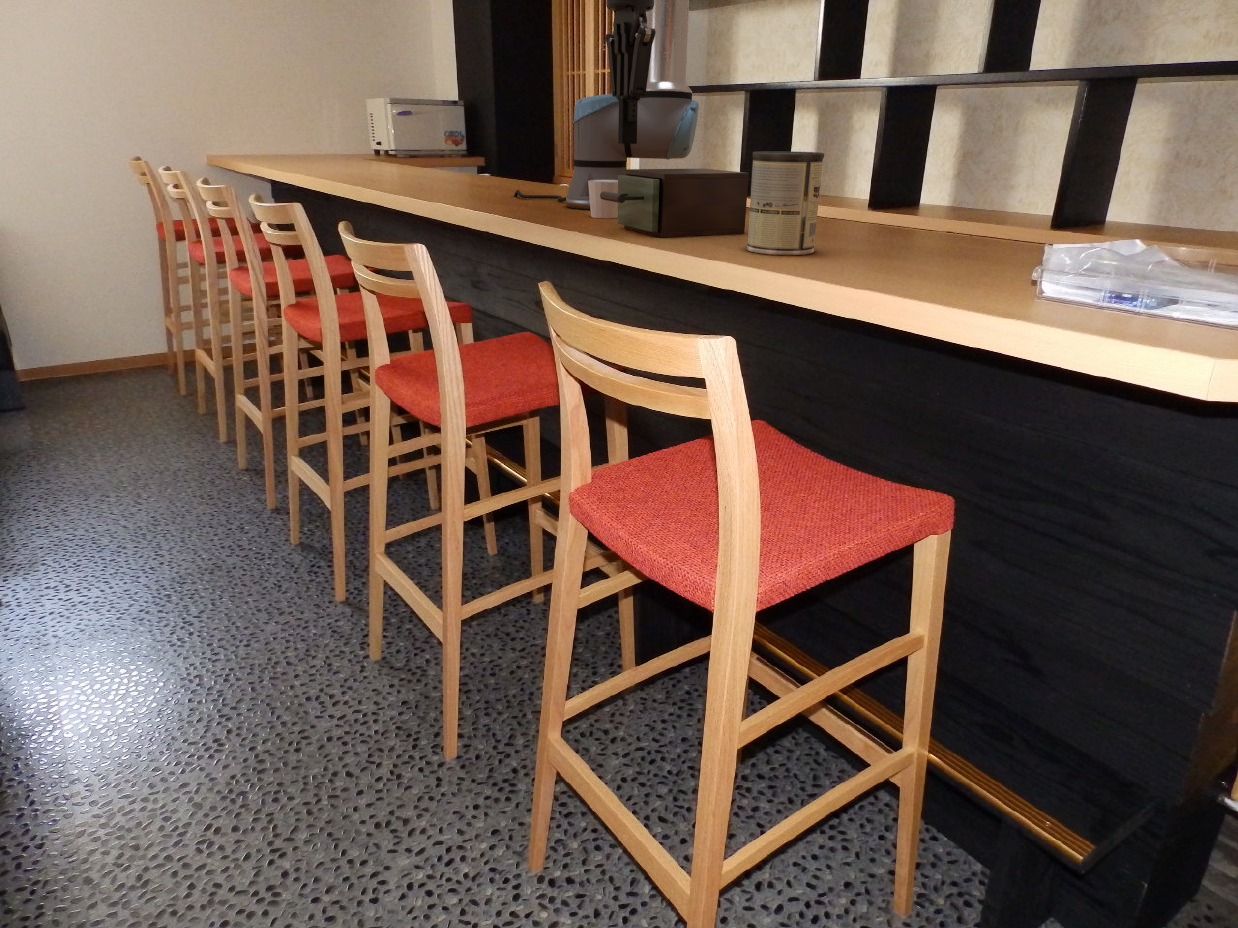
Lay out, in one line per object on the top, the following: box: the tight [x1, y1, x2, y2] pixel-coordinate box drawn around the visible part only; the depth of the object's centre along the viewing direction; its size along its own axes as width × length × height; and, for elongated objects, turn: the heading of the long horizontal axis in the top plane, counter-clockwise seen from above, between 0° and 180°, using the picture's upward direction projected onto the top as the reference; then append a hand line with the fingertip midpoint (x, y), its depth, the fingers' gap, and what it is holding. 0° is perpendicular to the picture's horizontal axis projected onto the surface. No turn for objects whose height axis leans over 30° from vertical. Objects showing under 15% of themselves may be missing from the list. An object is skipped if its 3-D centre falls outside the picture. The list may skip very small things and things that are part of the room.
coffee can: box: [746, 150, 825, 256], centre depth 125 cm, size 10×10×14 cm
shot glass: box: [588, 180, 618, 219], centre depth 169 cm, size 7×7×7 cm
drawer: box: [600, 175, 662, 232], centre depth 146 cm, size 20×13×8 cm, turn 117°
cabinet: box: [623, 168, 750, 239], centre depth 148 cm, size 17×14×10 cm
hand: (627, 143), depth 139 cm, fingers closed
